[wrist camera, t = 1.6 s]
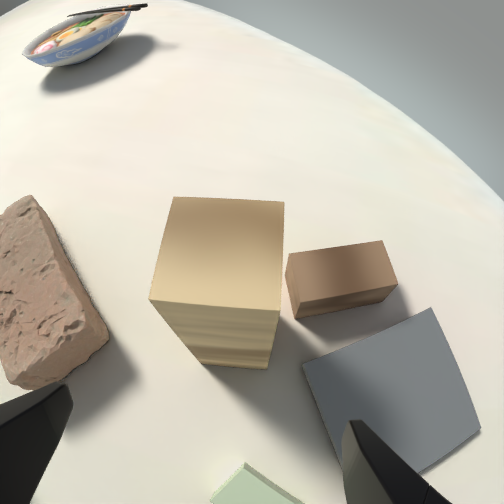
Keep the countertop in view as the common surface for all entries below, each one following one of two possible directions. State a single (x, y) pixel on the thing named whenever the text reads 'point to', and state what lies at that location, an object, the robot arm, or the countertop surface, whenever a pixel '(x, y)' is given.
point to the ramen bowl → (79, 36)
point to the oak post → (222, 278)
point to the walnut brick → (338, 278)
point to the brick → (41, 302)
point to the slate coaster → (397, 391)
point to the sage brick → (251, 490)
